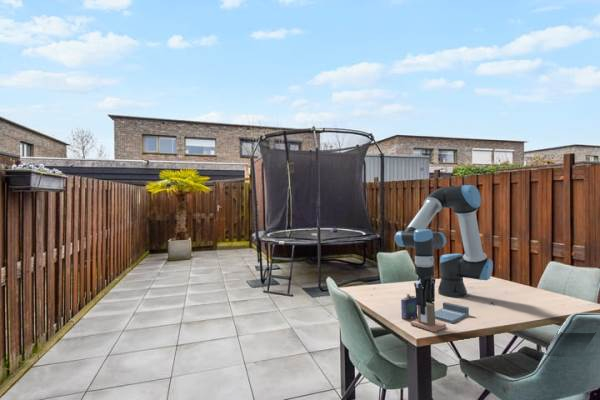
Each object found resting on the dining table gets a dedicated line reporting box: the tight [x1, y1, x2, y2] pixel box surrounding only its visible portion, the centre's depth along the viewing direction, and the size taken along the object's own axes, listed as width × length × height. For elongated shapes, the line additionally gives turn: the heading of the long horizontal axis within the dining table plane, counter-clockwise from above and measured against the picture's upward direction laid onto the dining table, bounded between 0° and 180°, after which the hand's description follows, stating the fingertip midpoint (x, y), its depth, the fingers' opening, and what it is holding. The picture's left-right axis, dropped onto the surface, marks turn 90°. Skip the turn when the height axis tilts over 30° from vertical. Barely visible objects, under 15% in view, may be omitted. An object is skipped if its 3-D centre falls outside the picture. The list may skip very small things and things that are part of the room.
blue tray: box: [435, 301, 470, 324], centre depth 141 cm, size 11×16×4 cm
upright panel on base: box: [410, 302, 447, 333], centre depth 129 cm, size 11×9×10 cm
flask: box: [400, 293, 418, 320], centre depth 141 cm, size 9×3×11 cm, turn 117°
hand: (426, 320), depth 129 cm, fingers closed on upright panel on base, 3 cm apart
